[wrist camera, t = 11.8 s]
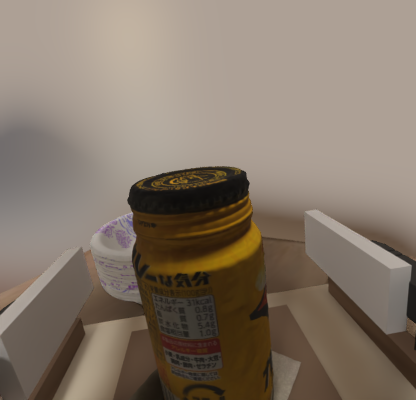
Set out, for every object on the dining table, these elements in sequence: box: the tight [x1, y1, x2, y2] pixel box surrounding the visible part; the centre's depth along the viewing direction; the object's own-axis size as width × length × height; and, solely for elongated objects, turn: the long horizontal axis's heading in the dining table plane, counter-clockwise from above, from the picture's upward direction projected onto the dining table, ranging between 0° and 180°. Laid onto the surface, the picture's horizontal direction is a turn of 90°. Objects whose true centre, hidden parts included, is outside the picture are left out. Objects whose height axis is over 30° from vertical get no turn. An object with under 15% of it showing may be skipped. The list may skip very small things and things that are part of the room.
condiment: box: [127, 166, 301, 400], centre depth 12 cm, size 7×8×12 cm
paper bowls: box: [90, 212, 142, 305], centre depth 30 cm, size 15×15×8 cm
